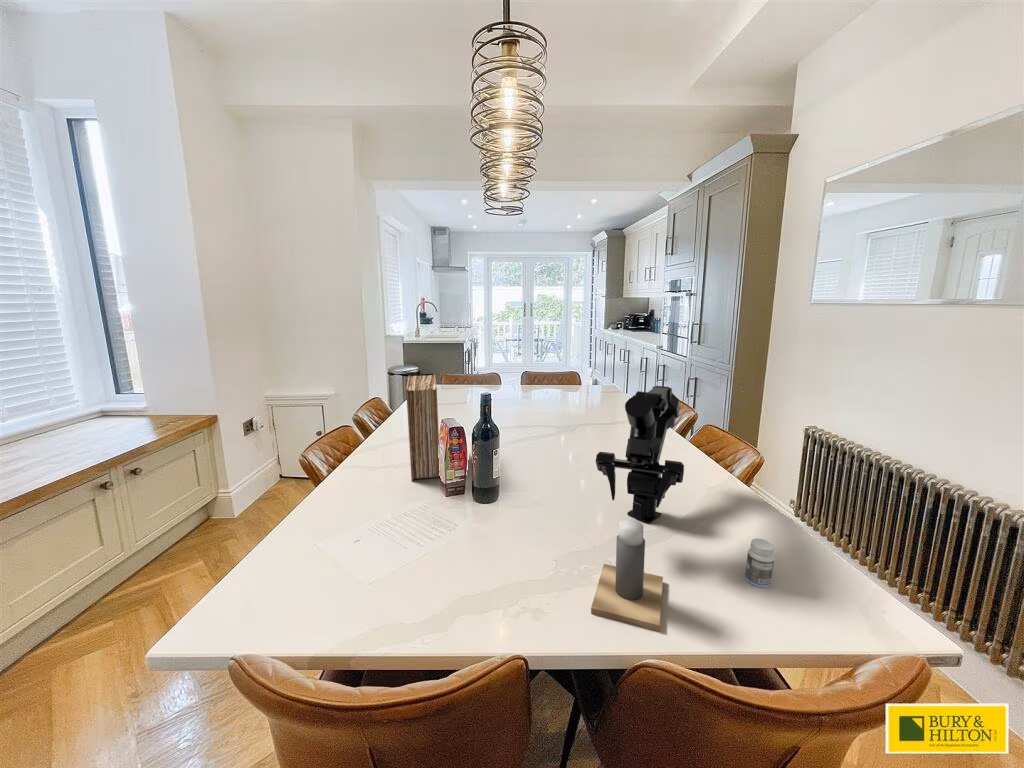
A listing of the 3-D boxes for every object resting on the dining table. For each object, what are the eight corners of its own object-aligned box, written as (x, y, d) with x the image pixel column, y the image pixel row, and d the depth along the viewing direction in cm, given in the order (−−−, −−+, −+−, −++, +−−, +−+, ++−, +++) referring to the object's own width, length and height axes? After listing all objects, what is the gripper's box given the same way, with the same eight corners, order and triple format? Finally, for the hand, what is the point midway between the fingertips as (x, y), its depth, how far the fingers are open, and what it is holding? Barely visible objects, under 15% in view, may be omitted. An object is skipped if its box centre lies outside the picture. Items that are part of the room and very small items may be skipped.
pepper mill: (633, 579, 86) (636, 516, 83) (648, 597, 81) (651, 530, 78) (610, 585, 85) (612, 520, 82) (624, 602, 80) (626, 535, 77)
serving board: (603, 568, 91) (603, 563, 91) (662, 581, 87) (662, 576, 87) (590, 613, 79) (591, 607, 78) (659, 631, 74) (659, 625, 74)
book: (440, 479, 136) (436, 387, 130) (411, 481, 135) (405, 389, 128) (438, 451, 161) (434, 373, 154) (413, 453, 159) (408, 374, 153)
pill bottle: (747, 570, 91) (751, 534, 89) (773, 579, 88) (778, 542, 86) (742, 581, 87) (747, 544, 85) (768, 591, 84) (774, 553, 83)
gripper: (598, 418, 96) (587, 483, 89) (687, 426, 90) (683, 498, 82) (603, 440, 105) (593, 500, 98) (684, 449, 99) (680, 515, 91)
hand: (634, 503), depth 92 cm, fingers open, 9 cm apart
